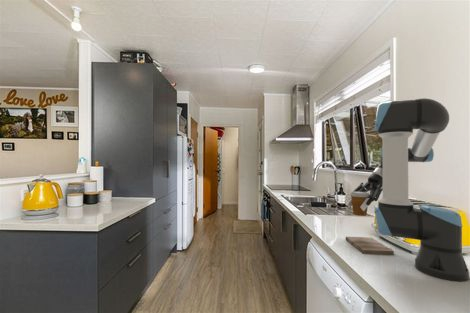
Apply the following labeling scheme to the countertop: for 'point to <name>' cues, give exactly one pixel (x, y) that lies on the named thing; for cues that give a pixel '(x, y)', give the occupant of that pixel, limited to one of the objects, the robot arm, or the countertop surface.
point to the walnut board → (369, 245)
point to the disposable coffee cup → (359, 202)
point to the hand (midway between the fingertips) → (354, 207)
